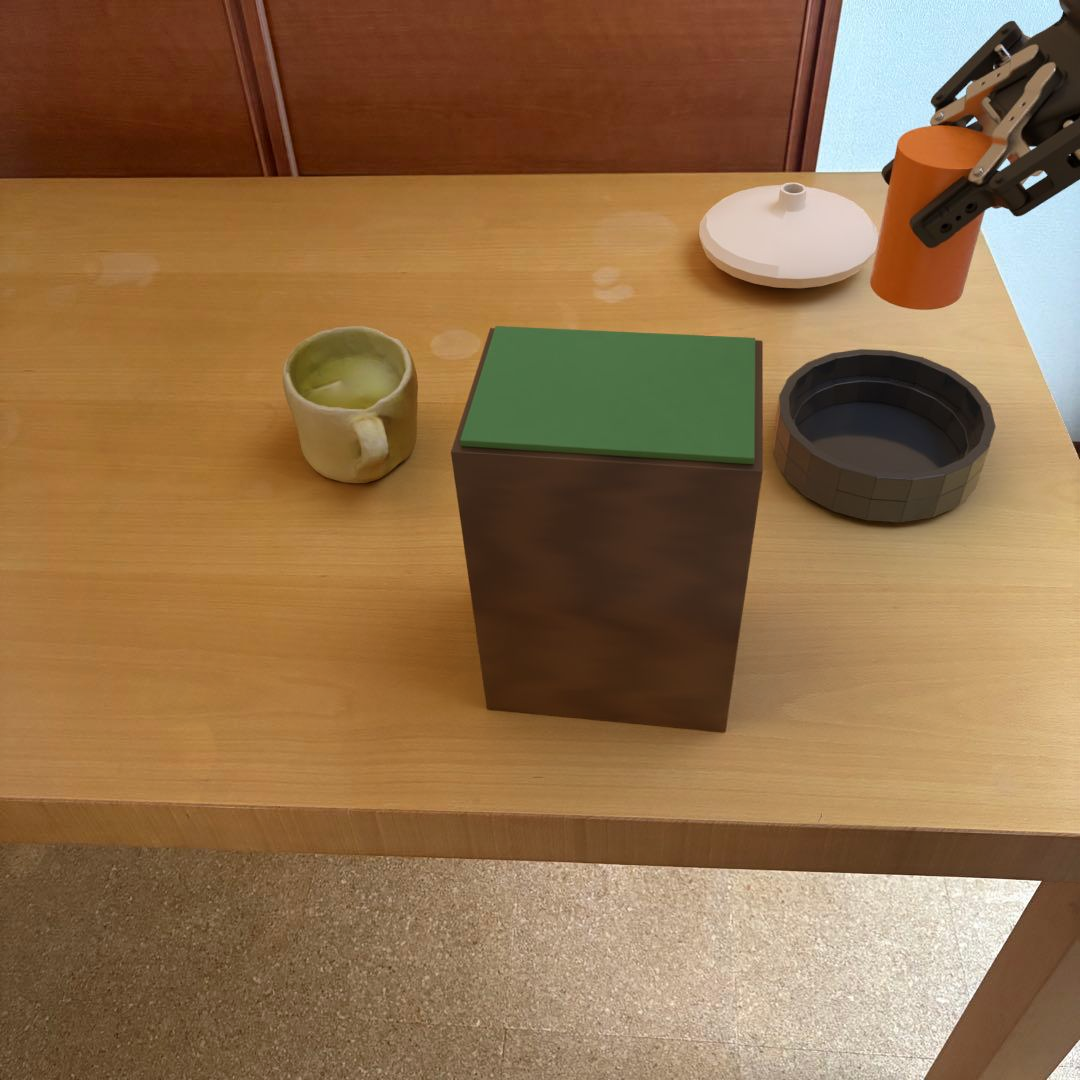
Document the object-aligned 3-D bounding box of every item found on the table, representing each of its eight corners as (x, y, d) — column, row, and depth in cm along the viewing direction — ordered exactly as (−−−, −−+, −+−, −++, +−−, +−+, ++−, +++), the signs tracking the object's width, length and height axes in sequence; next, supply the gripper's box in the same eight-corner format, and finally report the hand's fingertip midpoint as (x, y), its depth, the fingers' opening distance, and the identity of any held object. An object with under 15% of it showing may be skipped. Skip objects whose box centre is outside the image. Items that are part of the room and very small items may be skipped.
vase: (768, 329, 88) (778, 254, 83) (663, 249, 97) (666, 177, 92) (910, 274, 93) (928, 200, 87) (796, 202, 102) (806, 132, 97)
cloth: (754, 344, 52) (755, 337, 52) (753, 465, 46) (754, 457, 45) (496, 332, 54) (495, 325, 54) (460, 446, 48) (459, 439, 47)
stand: (729, 602, 67) (762, 340, 52) (725, 732, 60) (763, 471, 45) (514, 584, 68) (489, 327, 54) (486, 709, 62) (450, 451, 47)
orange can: (956, 263, 67) (992, 125, 60) (968, 312, 63) (1008, 169, 57) (866, 260, 68) (893, 124, 61) (873, 308, 64) (902, 167, 57)
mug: (274, 394, 81) (287, 300, 73) (403, 408, 84) (430, 319, 76) (271, 523, 74) (286, 433, 67) (412, 532, 77) (442, 448, 70)
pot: (963, 403, 80) (978, 354, 76) (992, 535, 70) (1010, 485, 66) (771, 392, 81) (778, 344, 78) (773, 520, 72) (780, 471, 68)
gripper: (1093, -114, 56) (837, 118, 65) (1223, -29, 46) (900, 232, 55) (1155, -14, 60) (906, 193, 69) (1289, 85, 50) (976, 313, 58)
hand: (904, 209), depth 62 cm, fingers closed on orange can, 5 cm apart
